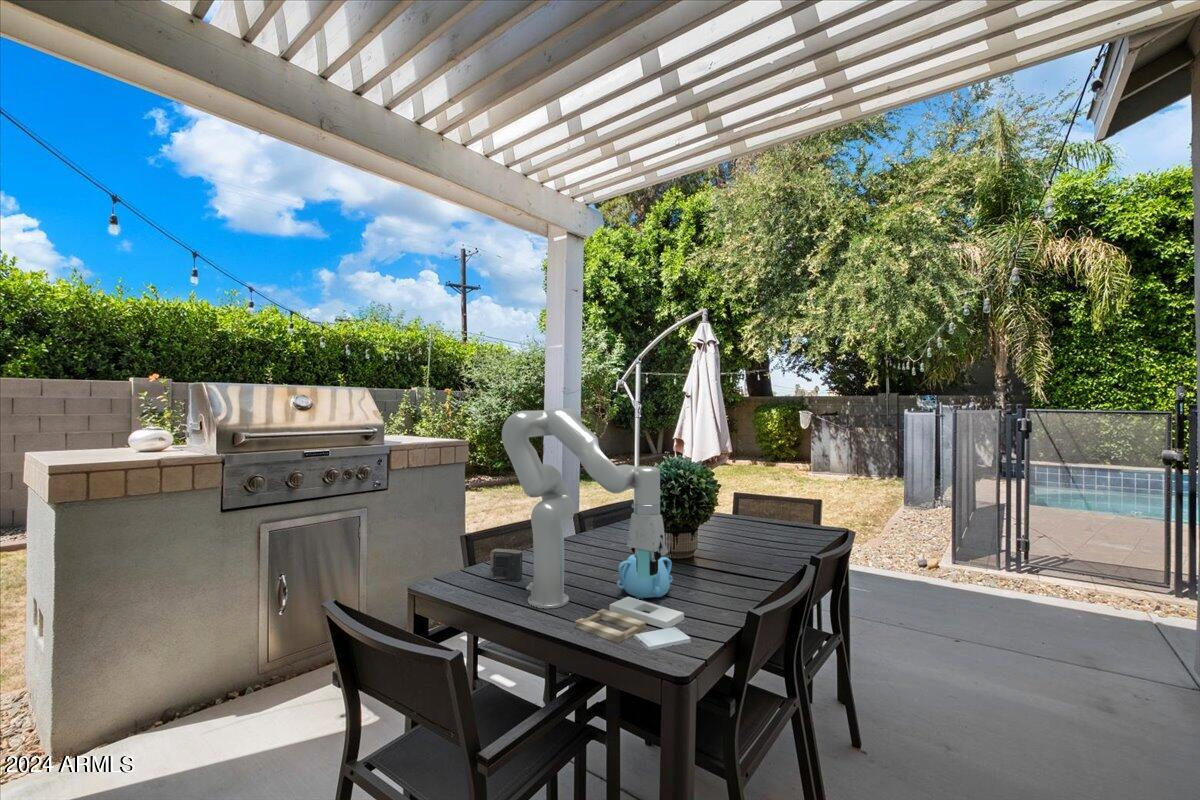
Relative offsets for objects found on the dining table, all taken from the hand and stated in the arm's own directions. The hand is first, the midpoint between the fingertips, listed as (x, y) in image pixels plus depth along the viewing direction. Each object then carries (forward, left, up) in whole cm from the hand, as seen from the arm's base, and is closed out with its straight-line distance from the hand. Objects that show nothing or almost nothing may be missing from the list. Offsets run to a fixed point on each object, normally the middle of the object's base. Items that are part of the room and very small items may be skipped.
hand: (647, 572), depth 160 cm
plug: (0, 0, -1) cm, 1 cm away
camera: (-56, -5, -13) cm, 58 cm away
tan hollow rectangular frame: (-2, -14, -13) cm, 19 cm away
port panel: (0, 0, -12) cm, 12 cm away
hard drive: (+12, -11, -13) cm, 21 cm away
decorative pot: (-11, +15, -13) cm, 23 cm away
